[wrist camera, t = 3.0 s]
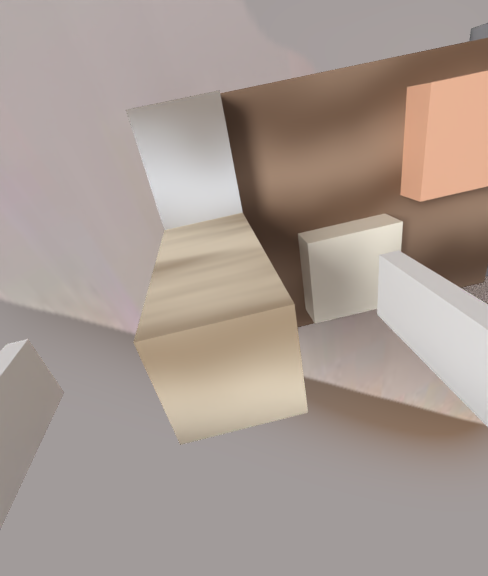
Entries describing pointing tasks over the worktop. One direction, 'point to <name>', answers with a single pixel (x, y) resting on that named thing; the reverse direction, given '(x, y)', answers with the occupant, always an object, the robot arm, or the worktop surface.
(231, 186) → the two-tone beige block
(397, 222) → the cream tile
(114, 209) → the worktop surface
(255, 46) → the worktop surface
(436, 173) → the terracotta tile
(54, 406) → the robot arm
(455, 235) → the board
